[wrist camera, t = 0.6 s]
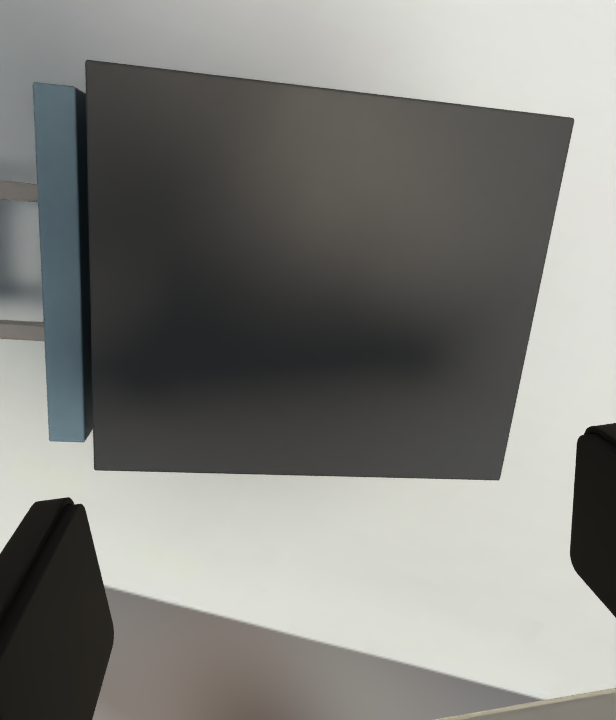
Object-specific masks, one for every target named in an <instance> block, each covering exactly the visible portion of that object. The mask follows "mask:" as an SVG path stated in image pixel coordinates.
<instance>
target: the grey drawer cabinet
mask: <svg viewBox="0 0 616 720" xmlns="http://www.w3.org/2000/svg"><path fill="white" fill-rule="evenodd" d="M85 75H86V121H87V167H88V213H89V259H90V305H91V351H92V397H93V443H94V469H95V470H105V471H146V472H186V473H226V474H267V475H307V476H347V477H388V478H428V479H468V480H499V479H500V475H501V471H502V466H503V461H504V456H505V451H506V447H507V442H508V437H509V432H510V427H511V423H512V418H513V413H514V408H515V403H516V398H517V394H518V389H519V384H520V379H521V374H522V370H523V365H524V360H525V355H526V350H527V345H528V341H529V336H530V331H531V326H532V321H533V317H534V312H535V307H536V302H537V297H538V293H539V288H540V283H541V278H542V273H543V268H544V264H545V259H546V254H547V249H548V244H549V240H550V235H551V230H552V225H553V220H554V215H555V211H556V206H557V201H558V196H559V191H560V187H561V182H562V177H563V172H564V167H565V162H566V158H567V153H568V148H569V143H570V138H571V134H572V129H573V124H574V119H573V118H570V117H562V116H553V115H545V114H537V113H528V112H520V111H511V110H503V109H495V108H486V107H478V106H470V105H461V104H453V103H445V102H436V101H428V100H420V99H411V98H403V97H394V96H386V95H378V94H369V93H361V92H353V91H344V90H336V89H328V88H319V87H311V86H303V85H294V84H286V83H277V82H269V81H261V80H252V79H244V78H236V77H227V76H219V75H211V74H202V73H194V72H185V71H177V70H169V69H160V68H152V67H144V66H135V65H127V64H119V63H110V62H102V61H94V60H86V62H85Z"/></svg>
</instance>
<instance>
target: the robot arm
mask: <svg viewBox="0 0 616 720" xmlns="http://www.w3.org/2000/svg"><path fill="white" fill-rule="evenodd" d="M570 557H571V562H572V565H573V567H574V569H575V571H576V572H577V574H578V575H579V576H580V577H581V578H582V579H583V581H584V582H585V583H586V584H587V585H588V586H589V587H590V589H591V590H592V591H593V592H594V593H595V594H596V595H597V597H598V598H599V599H600V600H601V601H602V602H603V603H604V605H605V606H606V607H607V608H608V609H609V610H610V611H611V613H612V614H613V615H614V616H615V617H616V423H613V424H606V425H599V426H591V427H589V428H587V429H586V431H585V433H584V435H581V436H580V437H579V439H578V441H577V451H576V467H575V482H574V498H573V514H572V529H571V545H570ZM113 639H114V629H113V622H112V618H111V614H110V610H109V606H108V601H107V597H106V593H105V589H104V585H103V581H102V576H101V572H100V568H99V564H98V560H97V556H96V552H95V548H94V543H93V539H92V535H91V531H90V527H89V523H88V519H87V514H86V511H85V508H84V506H83V505H82V504H76V505H74V502H73V501H72V499H71V498H69V497H68V498H60V499H53V500H45V501H38V502H35V503H34V504H33V505H32V506H31V508H30V510H29V511H28V513H27V514H26V516H25V517H24V519H23V520H22V522H21V523H20V525H19V526H18V528H17V529H16V531H15V532H14V534H13V535H12V537H11V538H10V540H9V541H8V543H7V544H6V546H5V547H4V549H3V551H2V552H1V554H0V720H92V718H93V715H94V711H95V707H96V704H97V700H98V697H99V693H100V690H101V686H102V682H103V679H104V675H105V672H106V668H107V665H108V661H109V658H110V654H111V650H112V646H113ZM436 720H616V688H613V689H607V690H601V691H595V692H589V693H583V694H577V695H572V696H566V697H560V698H554V699H549V700H543V701H537V702H532V703H526V704H520V705H515V706H509V707H503V708H498V709H492V710H486V711H480V712H475V713H469V714H463V715H458V716H452V717H447V718H441V719H436Z"/></svg>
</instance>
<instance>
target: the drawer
mask: <svg viewBox="0 0 616 720" xmlns="http://www.w3.org/2000/svg"><path fill="white" fill-rule="evenodd" d="M33 99H34V121H35V142H36V164H37V184H31V183H20V182H9V181H0V199H5V200H17V201H28V202H38V207H39V229H40V251H41V272H42V294H43V316H44V322H28V321H11V320H0V339H15V340H33V341H45V359H46V381H47V402H48V424H49V440H50V441H61V442H85V440H86V439H87V437H88V436H89V434H90V432H91V431H92V429H93V397H92V351H91V305H90V259H89V213H88V167H87V121H86V94H85V93H84V92H82V91H80V90H79V89H77V88H76V87H74V86H65V85H56V84H47V83H38V82H34V83H33Z"/></svg>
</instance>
